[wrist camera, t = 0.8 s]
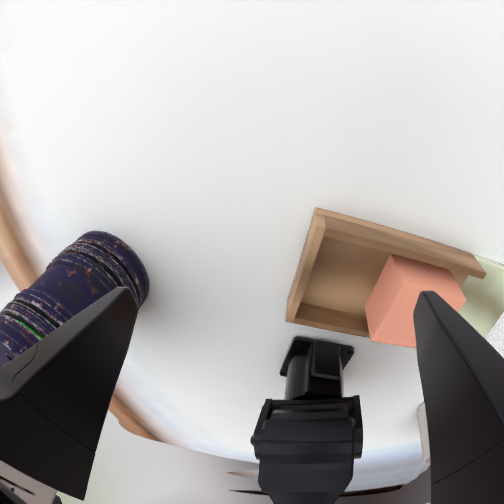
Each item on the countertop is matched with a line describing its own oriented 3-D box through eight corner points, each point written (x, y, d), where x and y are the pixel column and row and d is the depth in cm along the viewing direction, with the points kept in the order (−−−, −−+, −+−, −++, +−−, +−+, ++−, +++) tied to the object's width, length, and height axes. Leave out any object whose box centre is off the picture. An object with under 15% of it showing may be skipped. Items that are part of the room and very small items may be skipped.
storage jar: (152, 319, 30) (89, 434, 18) (81, 293, 31) (11, 384, 18) (149, 242, 25) (47, 372, 13) (68, 220, 26) (-35, 312, 13)
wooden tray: (479, 334, 24) (488, 353, 22) (288, 297, 26) (285, 321, 23) (520, 271, 20) (533, 289, 17) (315, 207, 21) (316, 225, 18)
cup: (463, 384, 29) (477, 437, 22) (454, 413, 34) (462, 459, 26) (417, 399, 32) (425, 454, 24) (414, 425, 36) (419, 472, 28)
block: (420, 317, 23) (431, 349, 20) (364, 306, 24) (370, 341, 20) (448, 269, 20) (466, 299, 17) (390, 253, 21) (403, 284, 17)
